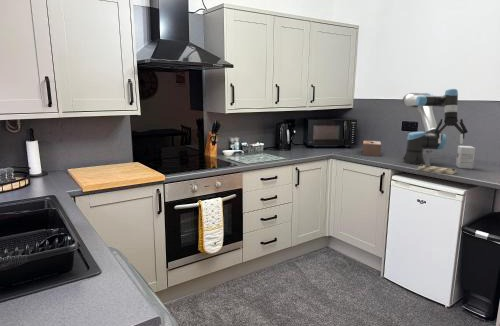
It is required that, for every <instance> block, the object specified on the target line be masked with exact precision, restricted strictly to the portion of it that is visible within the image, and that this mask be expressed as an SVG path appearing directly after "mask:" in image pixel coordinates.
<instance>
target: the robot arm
mask: <svg viewBox="0 0 500 326" xmlns="http://www.w3.org/2000/svg"><path fill="white" fill-rule="evenodd" d="M458 96H459V92H458V89H456V88H449V89H445V90H444V95H434V94H433V93H431V92H430V93H429V92H425V93H424V92H423V93H422V92H421V93H420V92H410V93H407V94H405V95H404V96H403V98H402V104H403V105H404V106H406V107H408V108H416V109H417V111H418V112H420V115H421V118H422V123H423V126H424V130H425V131H412V132H409V133H408V134H407V138H406V140H407V141H406V151H405V154H404V156H403V158H402V162H403V163H405V164H410V165H411V164H412V165H420V164H423V165H425V160H426V158H425V156H424V150H443V149H444V148H445V147H446V145H447V135H446V134H445V133H442V131H443V130H444V129H445V128H446V127H455V128H456V130H458V132H460V134H459V144H460V145H462V144H463V143H464V139H465V134H467V133H468V132H469V131H468V129H467V128H466V125H465V124H464V121H463V119H462V118H460V119H459V118H458V101H459V99H458V98H459V97H458ZM434 107H438V108H444V119H442V118H441V119H439V121H438V124H437V121H436V118H435V115H434V114H435V113H434V111H433V108H434ZM443 123H444V124H443ZM458 123H459V124H458ZM442 124H443V125H442ZM441 125H442V127H441Z"/></svg>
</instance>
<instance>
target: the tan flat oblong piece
mask: <svg viewBox="0 0 500 326" xmlns="http://www.w3.org/2000/svg"><path fill="white" fill-rule="evenodd" d="M417 171H422V172H423V171H424V172H432V173H437V174H444V175H445V174H446V175H454V174H456V173H457V169H456V167H452V168H448V167H440V166H435V165H433V166H432V165H430V167H425V164H418V167H417Z"/></svg>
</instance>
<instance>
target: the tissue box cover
mask: <svg viewBox="0 0 500 326" xmlns="http://www.w3.org/2000/svg"><path fill="white" fill-rule="evenodd" d="M381 151H382V143H381V141H380V140H363V143H362V156H368V155H370V156H371V157H381Z"/></svg>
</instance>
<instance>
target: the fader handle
mask: <svg viewBox="0 0 500 326" xmlns="http://www.w3.org/2000/svg"><path fill="white" fill-rule="evenodd" d="M432 152H433V149H426V150H425V163H424V165H425V167H430V166H431V162H432V161H431V160H432V155H433V154H432Z"/></svg>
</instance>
